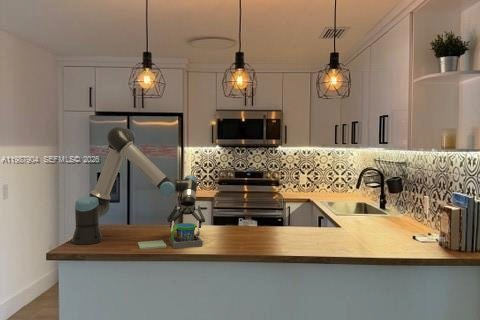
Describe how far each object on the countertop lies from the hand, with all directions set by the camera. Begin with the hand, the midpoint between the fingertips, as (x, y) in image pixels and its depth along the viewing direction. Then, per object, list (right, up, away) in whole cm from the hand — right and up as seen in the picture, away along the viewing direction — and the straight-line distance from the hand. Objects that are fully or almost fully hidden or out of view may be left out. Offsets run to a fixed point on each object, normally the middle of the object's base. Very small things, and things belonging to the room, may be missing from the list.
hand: (184, 232), depth 211 cm
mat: (-17, -7, 0) cm, 18 cm away
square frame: (0, -6, +3) cm, 7 cm away
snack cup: (0, -7, +3) cm, 7 cm away
